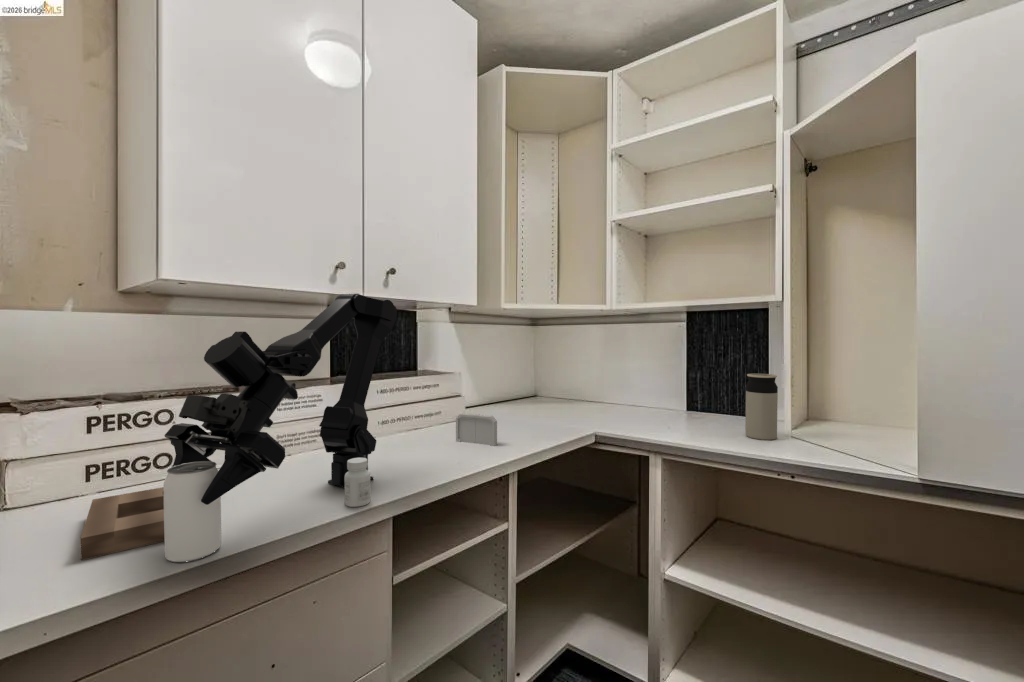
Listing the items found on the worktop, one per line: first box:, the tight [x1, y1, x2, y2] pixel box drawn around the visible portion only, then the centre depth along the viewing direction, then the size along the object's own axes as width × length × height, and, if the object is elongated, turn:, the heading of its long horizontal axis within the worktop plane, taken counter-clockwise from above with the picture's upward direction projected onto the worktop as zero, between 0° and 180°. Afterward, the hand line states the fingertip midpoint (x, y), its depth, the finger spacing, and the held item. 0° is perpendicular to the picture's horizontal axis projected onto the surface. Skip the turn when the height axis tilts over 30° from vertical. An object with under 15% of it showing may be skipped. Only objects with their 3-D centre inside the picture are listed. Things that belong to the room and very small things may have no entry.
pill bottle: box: [344, 458, 372, 508], centre depth 81 cm, size 4×4×8 cm
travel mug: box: [744, 373, 779, 441], centre depth 130 cm, size 8×8×18 cm
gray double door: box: [455, 412, 498, 447], centre depth 124 cm, size 2×12×8 cm, turn 65°
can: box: [163, 460, 222, 563], centre depth 63 cm, size 6×6×12 cm
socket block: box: [80, 486, 165, 561], centre depth 72 cm, size 12×18×3 cm, turn 39°
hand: (184, 499), depth 62 cm, fingers open, 7 cm apart
